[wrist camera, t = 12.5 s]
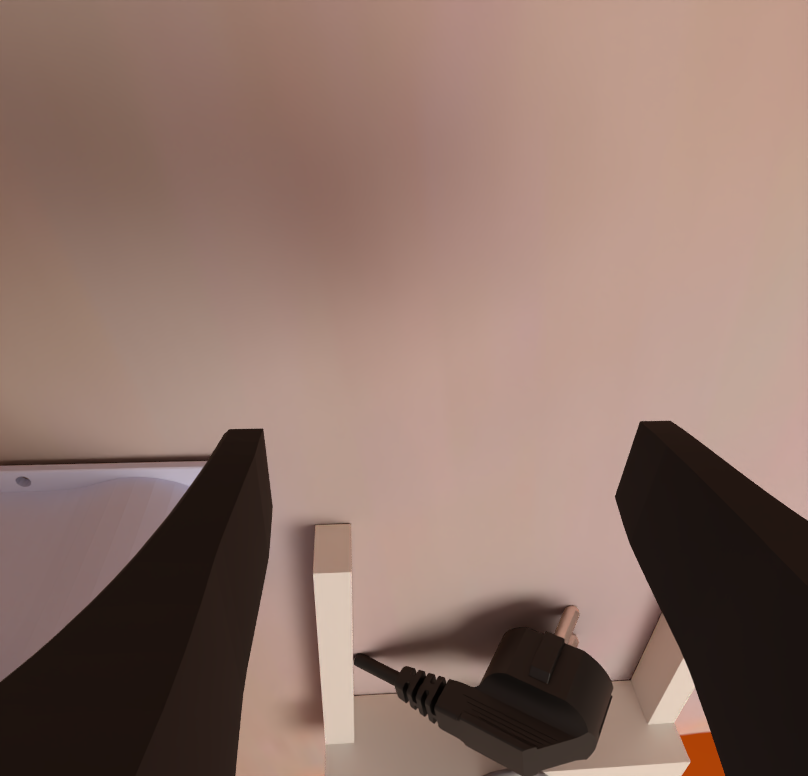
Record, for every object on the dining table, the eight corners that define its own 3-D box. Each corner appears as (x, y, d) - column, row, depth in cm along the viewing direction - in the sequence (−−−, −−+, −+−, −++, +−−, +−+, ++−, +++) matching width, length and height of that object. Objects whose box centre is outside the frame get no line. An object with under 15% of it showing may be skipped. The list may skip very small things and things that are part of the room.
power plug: (337, 641, 30) (581, 765, 24) (414, 530, 35) (633, 610, 29) (359, 700, 33) (578, 821, 28) (427, 590, 38) (625, 673, 32)
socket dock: (328, 730, 37) (326, 823, 33) (315, 524, 26) (310, 626, 22) (638, 711, 38) (672, 798, 34) (740, 511, 28) (805, 603, 24)
